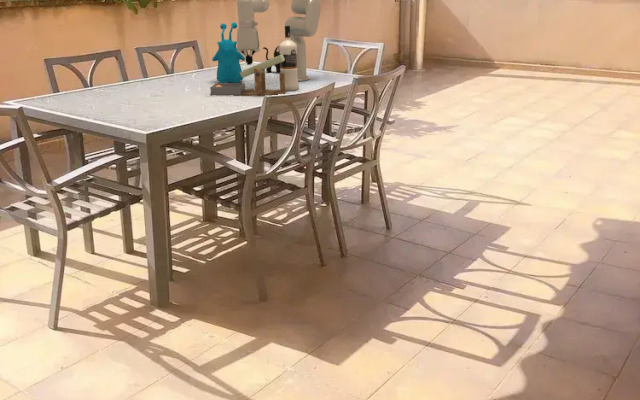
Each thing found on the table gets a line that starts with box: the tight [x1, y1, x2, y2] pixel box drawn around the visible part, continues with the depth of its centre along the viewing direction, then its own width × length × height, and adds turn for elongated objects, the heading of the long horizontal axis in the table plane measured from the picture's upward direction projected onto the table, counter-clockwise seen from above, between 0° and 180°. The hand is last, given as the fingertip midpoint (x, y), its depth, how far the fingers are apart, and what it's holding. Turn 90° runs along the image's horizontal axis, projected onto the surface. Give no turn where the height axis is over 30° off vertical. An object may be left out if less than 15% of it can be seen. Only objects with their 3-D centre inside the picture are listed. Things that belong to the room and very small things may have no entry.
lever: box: [240, 54, 285, 79], centre depth 324 cm, size 22×16×4 cm
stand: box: [241, 68, 288, 97], centre depth 321 cm, size 20×11×12 cm, turn 84°
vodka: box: [278, 25, 300, 92], centre depth 327 cm, size 9×9×30 cm
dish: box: [210, 82, 246, 97], centre depth 324 cm, size 10×14×4 cm
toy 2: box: [262, 45, 281, 74], centre depth 378 cm, size 8×14×15 cm, turn 69°
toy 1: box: [211, 21, 246, 83], centre depth 351 cm, size 17×18×30 cm
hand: (249, 64), depth 330 cm, fingers closed
